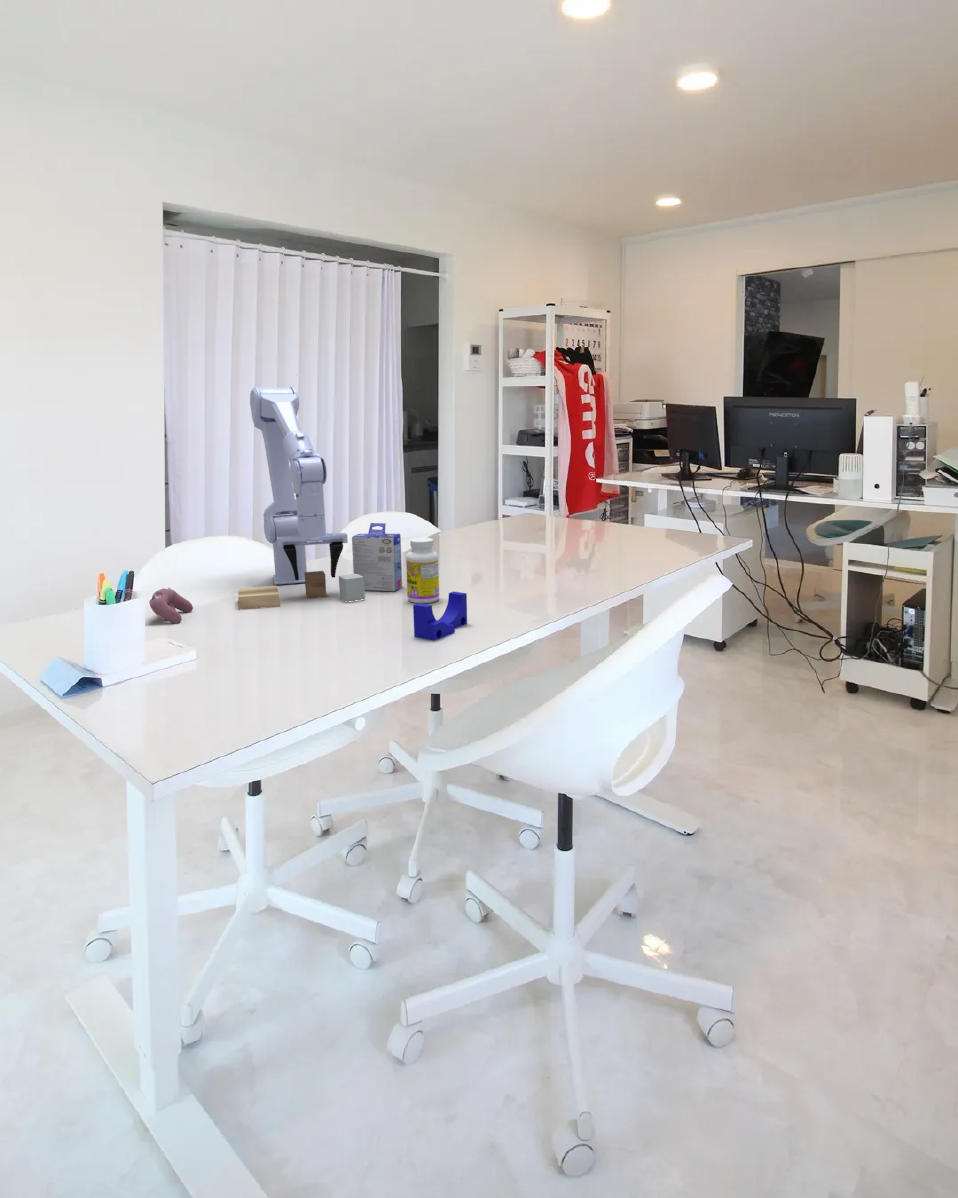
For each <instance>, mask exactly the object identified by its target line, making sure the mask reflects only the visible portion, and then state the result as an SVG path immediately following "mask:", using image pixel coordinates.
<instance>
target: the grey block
mask: <svg viewBox="0 0 958 1198" xmlns="http://www.w3.org/2000/svg"><path fill="white" fill-rule="evenodd" d="M338 587H339V599H340V600H341V599H343V600H345V601H347V602H348V603H350V602H349V601H355V600H361V599H365V600H366V594H365V593H366V592H365V591H366V590H365V588H364V577H363V576H361V575H358V574H354V573H351V574H345V575H338ZM343 600H342V601H343ZM345 601H344V602H345ZM347 602H346V603H347ZM355 602H356V601H355Z"/></svg>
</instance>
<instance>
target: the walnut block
mask: <svg viewBox="0 0 958 1198" xmlns="http://www.w3.org/2000/svg"><path fill="white" fill-rule="evenodd" d="M304 573H305V583H304V585H305V586H304V587H305V596H306V598H307V599H308V598H309V599H319V598H318V597H321V598H327V584H326V583H327V582H326V574H325V572H324V570H318V571H317V570H315V571H307V572H304Z"/></svg>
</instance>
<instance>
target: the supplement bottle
mask: <svg viewBox="0 0 958 1198" xmlns="http://www.w3.org/2000/svg"><path fill="white" fill-rule="evenodd" d="M409 546H410V548H411V551H409V552H408V553H406V557H405V559H406V560H405V561H406V566H405V567H406V594H407V600H408V601H409V602H411V603H414V604H417V603H421V604H431V603H435V602H437V601H438V600H439V598H440V580H439V577H440V576H439V575H440V572H439V555H438V553H437V552H436V551H435V550H434V549H433V547H434V539H433V538H429V537H419V538H417V537H415V538H412V539H410V545H409Z"/></svg>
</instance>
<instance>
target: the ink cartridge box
mask: <svg viewBox="0 0 958 1198" xmlns="http://www.w3.org/2000/svg"><path fill="white" fill-rule="evenodd" d="M375 527H381V528H382V529H373V528H375ZM351 542H352V543H351V544H352V545H351V546H352V566H353V567H352V568H353V569H352V570H353V571H352V572H353V574H358V575H361V576H363V577H364V588H365V591H374V592H375V591H380V592H396V591H397V590H400V589H401V588H403V578H402V577H403V573H402V569H403V566H402V545H401V542H402V541H401V533H386V523H385V522H383V523H382V522H380V523H379V522H377V523H376V522H370V525H369V529H368V533H357V534H355V535H353V536H352V537H351Z"/></svg>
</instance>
